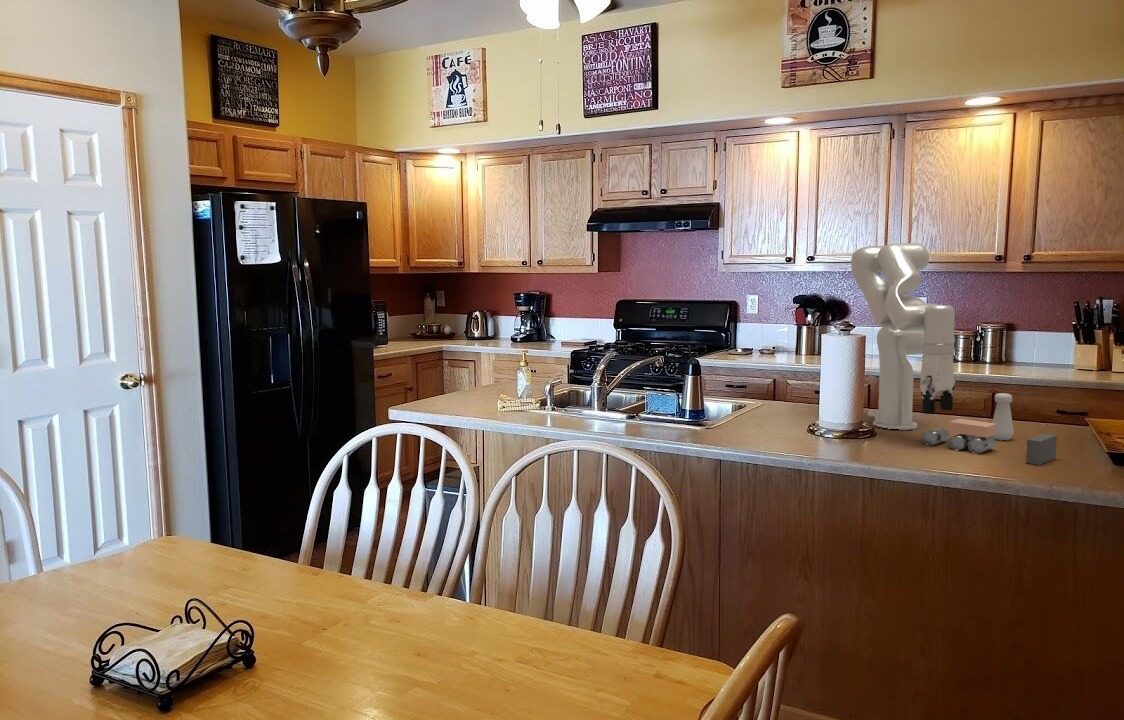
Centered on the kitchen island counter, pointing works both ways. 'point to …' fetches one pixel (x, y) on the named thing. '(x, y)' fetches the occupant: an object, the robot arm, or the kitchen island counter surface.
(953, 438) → the rear steel roller
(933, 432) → the loose steel roller
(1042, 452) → the rubber block
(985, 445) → the front steel roller
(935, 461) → the kitchen island counter surface
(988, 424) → the terracotta slab
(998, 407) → the salt shaker
